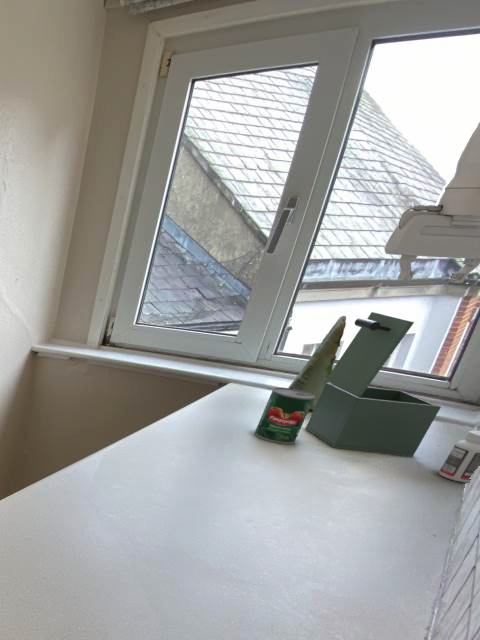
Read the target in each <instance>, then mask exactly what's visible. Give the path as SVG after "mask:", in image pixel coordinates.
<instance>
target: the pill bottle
mask: <svg viewBox="0 0 480 640" xmlns="http://www.w3.org/2000/svg"><path fill="white" fill-rule="evenodd" d="M478 466H480V430H468V431H467V433H466V434H465V436H464V439H460V440H457V441H456V443H454V445H453V447H452V448H451V450H450V452H449V453H448V456H447V458H446V459H445V461H444V462H443V464H442V466H441V468H440V470H439V471H438V474H439V475H440V476H442V477H443V478H446V479H447V480H451V481H454V482H457V483H458V482H460V483H465V484H471V483H470V480H471V479H469V478H470V477H471V475H472V474H473V473H474V471H475V470H476V469H477V468H478Z"/></svg>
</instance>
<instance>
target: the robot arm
mask: <svg viewBox="0 0 480 640" xmlns="http://www.w3.org/2000/svg"><path fill="white" fill-rule="evenodd" d="M451 175H452V176H451V177H450V179H449V180H448V181H447V183H446V184H445V185H444V186H443V188H442V191H441V192H440V195H439V197H438V199H437V201H436V203H435V204H429V205H426V204H415V205H414V206H412V207H409V208H407V209H405V211H403V213H402V214H401V216H400V218H399V221H398V222H397V224H396V226H395V228H394V229H393V231H392V232H391V234H390V236H389V237H388V239H387V241H386V243H385V244H384V247H383V249H384V252H385V254H386V255H392V256H400V258H399V260H398V262H399V269H400V272H399V274H398V277H397V280H401V281H412V279H413V277H414V275H415V274H416V272H417V271H415V270H412V263H414V262H415V261H416V259H417V257H427V258H428V257H430V258H446V259H447V258H449V259H464V260H463V261H462V265H463V266H462V267H461V268H460V269H459V270H458V271H457V272H451V274H450V276H449V278H448V281H447V282H448V283H453V284H463V283H464V281H465V279H466V277H467V276H468V275H469V274H470V273H471V272H473V271H474V270H475V269H477V268H478V267H479V266H480V121H479V122H478V123H477V124H476V126H475V127H474V128H473V130H472V131H471V133H470V135H469V136H468V138H467V140H466V141H465V143H464V144H463V147H462V149H461V151H460V153H459V155H458V157H457V159H456V161H455V163H454V168H453V172H452V174H451Z"/></svg>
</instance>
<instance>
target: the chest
mask: <svg viewBox="0 0 480 640" xmlns="http://www.w3.org/2000/svg"><path fill="white" fill-rule="evenodd" d="M441 408H442V406H440V405H439V404H436V403H433V402H431V401H428V400H426V399H424V398H422V397H419V396H416V395H414V394H411V393H409V392H406V391H404V390H402V389H394V388H393V389H391V388H382V387H371V386H368V387H367V389H366V390H365V391H364V393H363V394H362V396H357V395H355V394H353V393H351V392H349V391H346V390H344V389H342V388H340V387H338V386H336V385H334V384H332V383H330V382H329V383H326V384H325V387H324V389H323V391H322V393H321V395H320V397H319V400H318V402H317V404H316V406H315V408H314V410H312V412H311V415H310V417H309V419H308V422H307V424H306V426H305V428H304V429H305V430H306V431H307V432H309V433H310V434H312V435H314V436H315V437H317V438H318V439H320V440H321V441H323V442H325V443H326V444H328V445H329V446H330V447H331V448H334V449H343V450H351V451H358V452H359V451H361V452H368V453H377V454H385V455H393V456H401V457H409V458H410V457H411V458H412V457H413V458H414V456H415V454H416V452H417V450H418V448H419V447H420V444H421V443H422V441H423V439H424V438H425V436H426V435H427V433H428V431H429V430H430V427H431V425H432V424H433V422H434V420H435V418H436V417H437V415H438V414H439V412H440V410H441Z"/></svg>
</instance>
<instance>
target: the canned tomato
mask: <svg viewBox="0 0 480 640" xmlns="http://www.w3.org/2000/svg"><path fill="white" fill-rule="evenodd" d="M314 399H315V396H314V395H313V394H310V393H308V392H304V391H300V390H295V389H289V388H288V387H274V388H272V390H271V393H270V394H269V398H268V400H267V402H266V405H265V407H264V409H263V412H262V414H261V417H260V418H259V422H258V424H257V426H256V428H255V431H254V433H253V434H254V436H256V437H258V438H259V439H261V440H265V441H267V442H271V443H276V444H283V445H291V444H294V443H296V439H297V437H298V436H299V433H300V431H301V429H302V427H303V425H304V422H305V420H306V419H307V416H308V414H309V412H310V407H311V405H312V403H313V401H314Z"/></svg>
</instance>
